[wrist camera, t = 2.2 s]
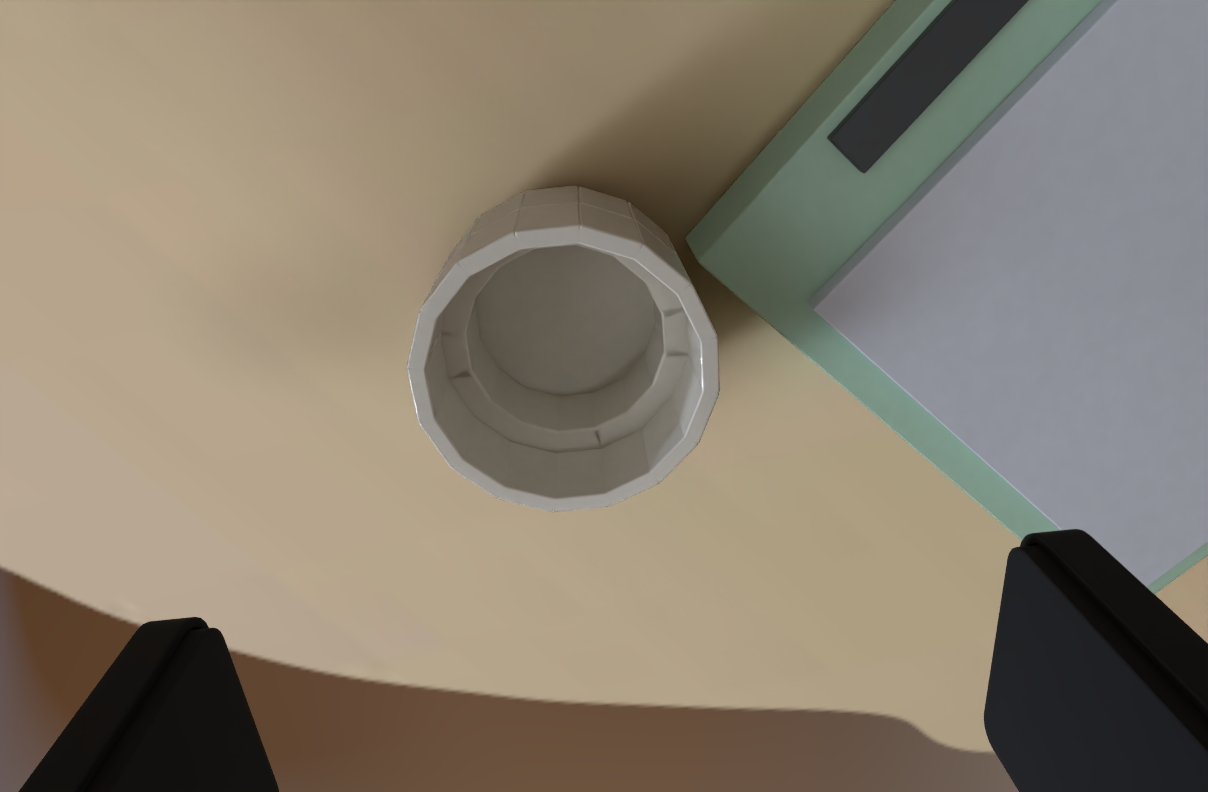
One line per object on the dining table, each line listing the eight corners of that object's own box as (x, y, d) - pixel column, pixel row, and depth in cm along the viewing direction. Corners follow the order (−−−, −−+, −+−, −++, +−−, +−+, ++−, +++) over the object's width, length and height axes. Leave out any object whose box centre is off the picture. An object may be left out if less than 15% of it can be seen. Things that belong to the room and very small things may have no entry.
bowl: (394, 325, 22) (348, 402, 17) (545, 127, 20) (538, 155, 15) (583, 458, 24) (587, 558, 19) (737, 291, 22) (782, 359, 17)
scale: (683, 238, 21) (700, 268, 18) (1121, -256, 17) (1228, -312, 14) (1071, 574, 26) (1129, 636, 24) (1475, 263, 22) (1600, 295, 20)
